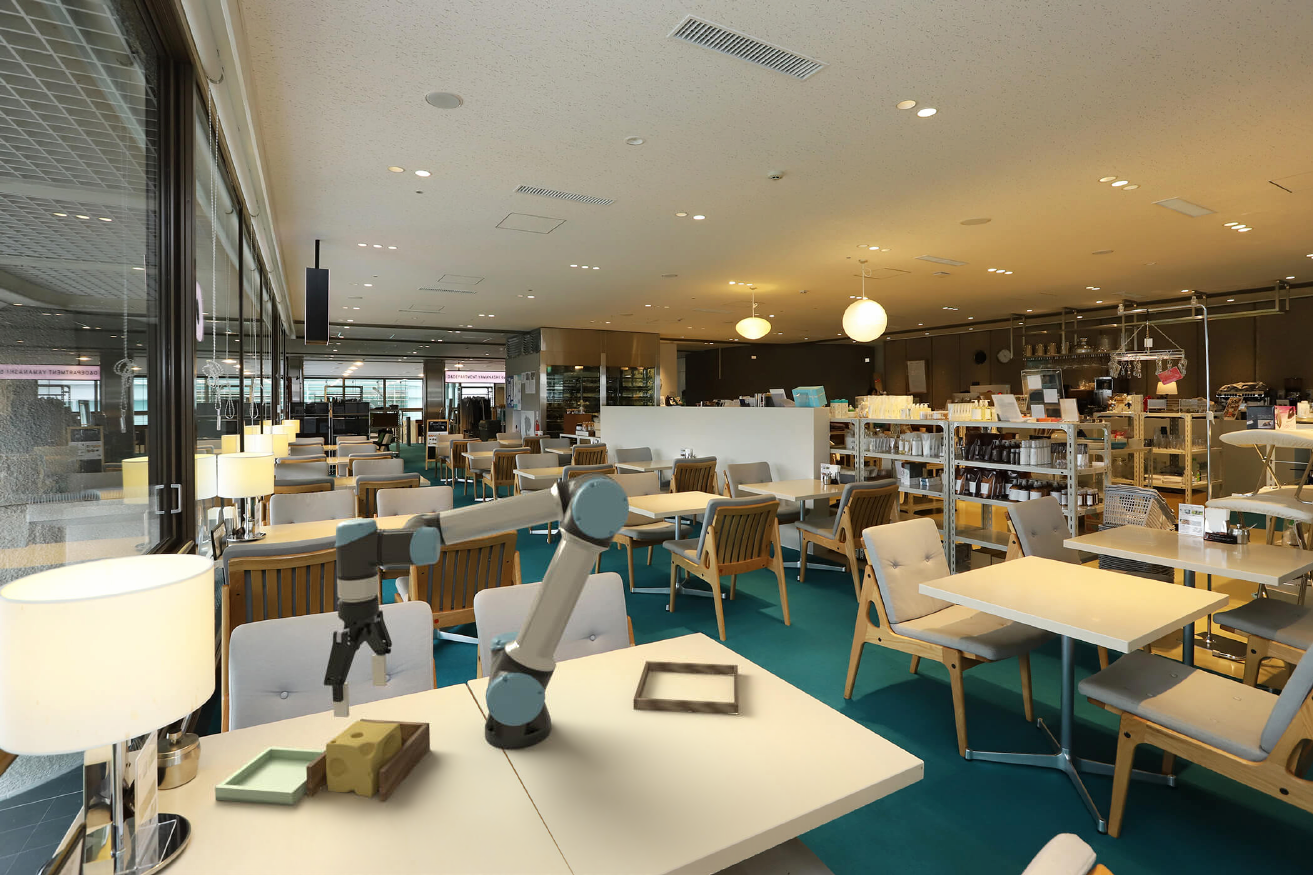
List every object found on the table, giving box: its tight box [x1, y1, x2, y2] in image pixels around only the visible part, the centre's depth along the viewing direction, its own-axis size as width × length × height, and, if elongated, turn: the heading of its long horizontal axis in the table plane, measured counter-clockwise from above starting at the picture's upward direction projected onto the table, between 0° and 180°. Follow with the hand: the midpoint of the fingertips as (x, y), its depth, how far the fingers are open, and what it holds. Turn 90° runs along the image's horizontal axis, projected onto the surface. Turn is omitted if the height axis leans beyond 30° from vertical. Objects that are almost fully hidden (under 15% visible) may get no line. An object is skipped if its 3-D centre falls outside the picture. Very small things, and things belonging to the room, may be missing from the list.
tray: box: [214, 746, 326, 806], centre depth 133 cm, size 16×15×2 cm
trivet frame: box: [632, 660, 740, 714], centre depth 174 cm, size 26×24×2 cm
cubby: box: [306, 718, 431, 803], centre depth 136 cm, size 16×19×6 cm
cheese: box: [325, 720, 402, 798], centre depth 133 cm, size 10×11×10 cm
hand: (361, 699), depth 133 cm, fingers open, 13 cm apart
